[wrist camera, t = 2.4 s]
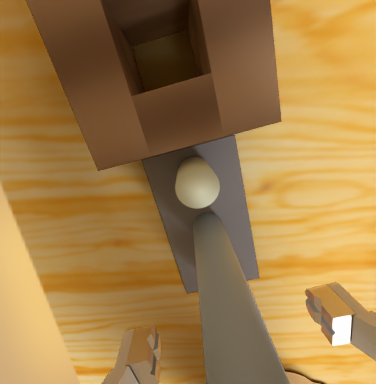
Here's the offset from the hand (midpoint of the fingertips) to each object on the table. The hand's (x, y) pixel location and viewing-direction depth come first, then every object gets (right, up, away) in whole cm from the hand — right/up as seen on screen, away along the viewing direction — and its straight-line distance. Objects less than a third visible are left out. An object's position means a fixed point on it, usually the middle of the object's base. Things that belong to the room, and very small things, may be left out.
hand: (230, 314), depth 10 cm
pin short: (-2, +8, +8) cm, 12 cm away
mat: (0, +3, +10) cm, 11 cm away
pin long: (0, +3, +10) cm, 10 cm away
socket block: (-4, +17, +6) cm, 18 cm away
